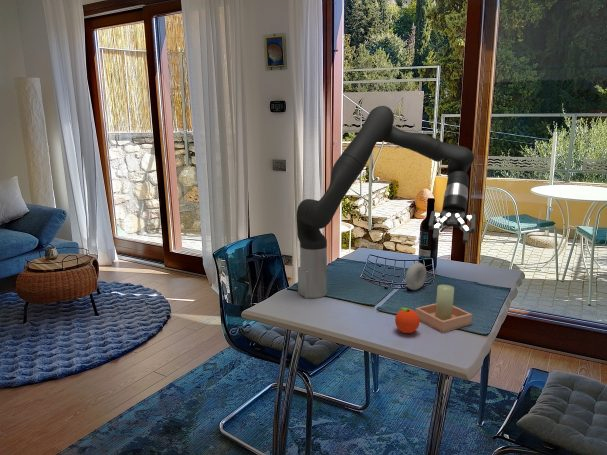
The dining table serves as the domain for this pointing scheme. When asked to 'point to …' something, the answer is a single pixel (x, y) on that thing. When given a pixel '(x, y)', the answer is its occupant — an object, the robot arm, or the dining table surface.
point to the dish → (457, 320)
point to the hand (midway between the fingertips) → (449, 241)
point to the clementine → (407, 320)
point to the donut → (420, 278)
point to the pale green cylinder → (444, 302)
